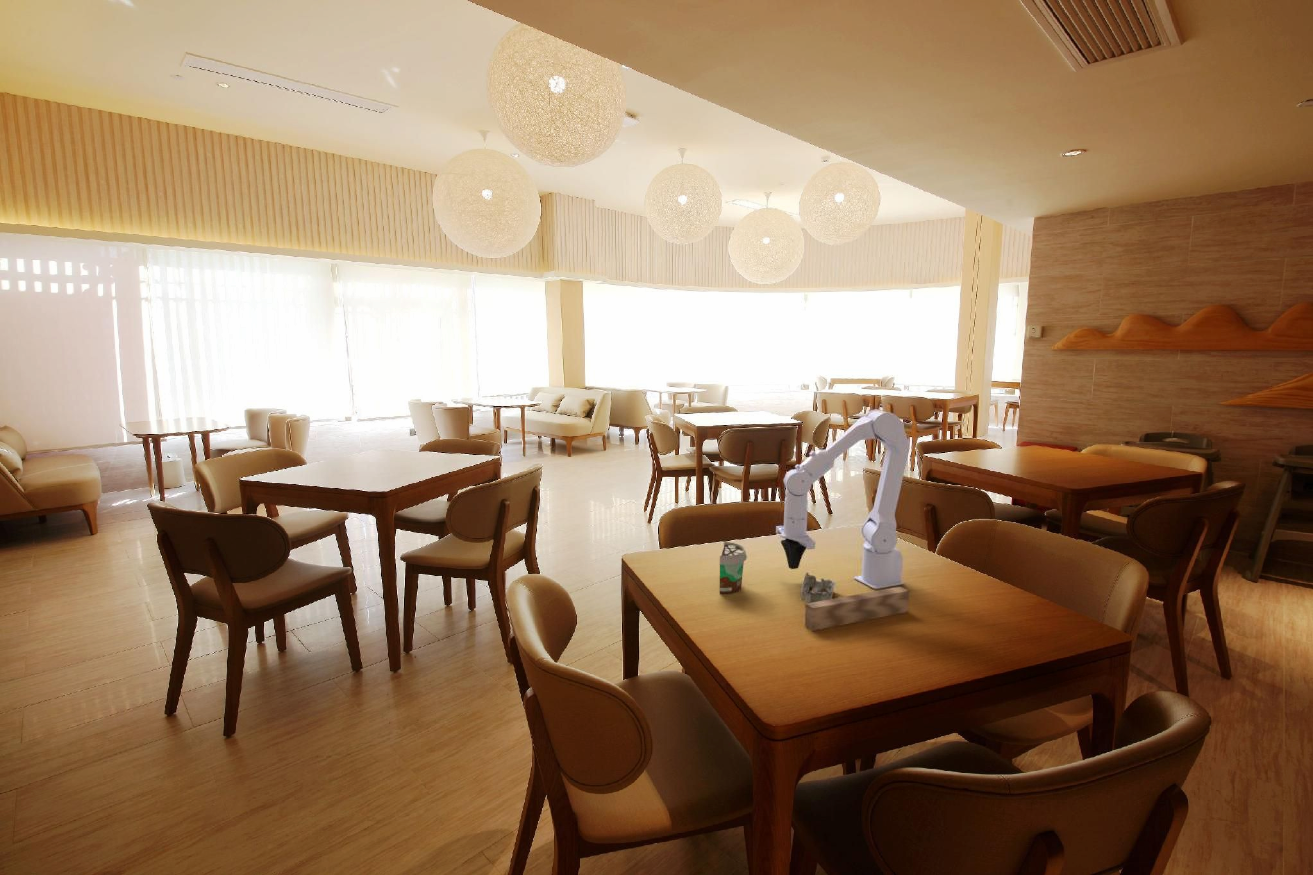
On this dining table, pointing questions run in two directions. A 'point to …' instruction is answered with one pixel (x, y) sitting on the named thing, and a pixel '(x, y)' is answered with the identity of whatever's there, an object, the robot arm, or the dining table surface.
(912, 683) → the dining table surface
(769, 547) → the dining table surface
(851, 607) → the walnut board
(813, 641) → the dining table surface
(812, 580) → the egg carton
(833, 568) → the dining table surface
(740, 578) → the food container
